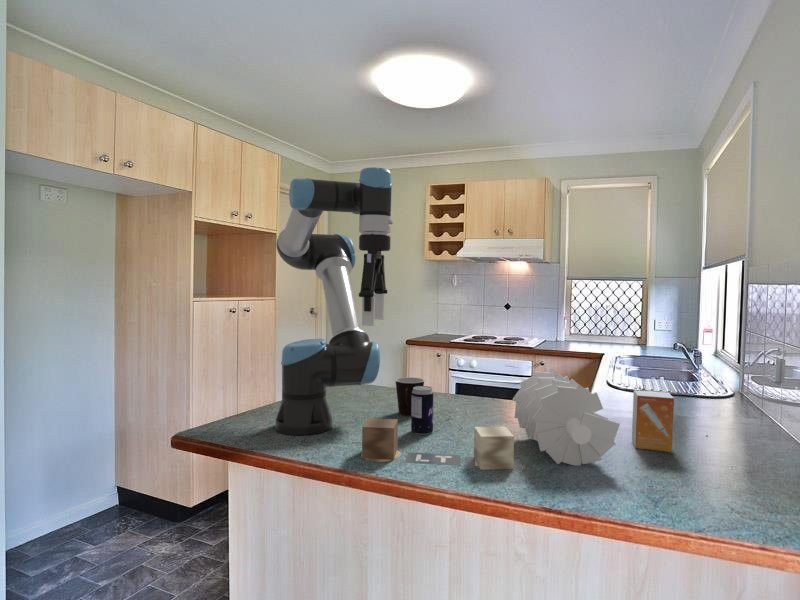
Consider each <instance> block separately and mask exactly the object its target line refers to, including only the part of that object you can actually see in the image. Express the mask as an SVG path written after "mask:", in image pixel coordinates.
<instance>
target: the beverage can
mask: <svg viewBox="0 0 800 600" xmlns="http://www.w3.org/2000/svg"><path fill="white" fill-rule="evenodd" d="M410 417H411V419H410V422H411V423H410V425H411V426H410V431H411V432H412V433H413V434H415V435H420V436H425V435H426V436H427V435H430V434H432V432H433V431H434V391H433V388H432V387H431V386H427V385H424V386H416V387H413V391H412V401H411V416H410Z"/></svg>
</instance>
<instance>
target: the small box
mask: <svg viewBox="0 0 800 600" xmlns="http://www.w3.org/2000/svg"><path fill="white" fill-rule="evenodd" d="M632 394H633V396H632V397H633V398H632V421H631V422H632V425H631V428H632V431H631V442H632V443H633V446H634V448H635V449H640V450H642V449H643V450H648V451H649V450H650V451H651V450H652V451H660V452H667V453H672V452H673V441H674V440H673V439H674V438H673V437H674V436H673V435H674V415H675V413H674V412H675V411H674V409H675V398H674V396H672V395H671V393H670V392H664V391H663V392H661V391H651V390H650V391H649V390H635V389H634V390H633V393H632Z"/></svg>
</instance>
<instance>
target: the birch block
mask: <svg viewBox="0 0 800 600" xmlns="http://www.w3.org/2000/svg"><path fill="white" fill-rule="evenodd" d="M473 429H474V431H473V432H474V433H473V444H474V445H473V457H474V459H475V461H476V462H477V464H478V466H479V468H478V469H480V471H481V470H483V471H484V470H503V469H514V459H515V457H514V455H515V453H514V452H515V435H513V434H512V432H511V431H510V430H509V429H508V427H506V426H474V427H473Z"/></svg>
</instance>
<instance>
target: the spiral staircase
mask: <svg viewBox="0 0 800 600" xmlns="http://www.w3.org/2000/svg"><path fill="white" fill-rule="evenodd" d="M519 385H520V388H519V389H518V391H517V392H516V393H515V395H514V396H513V397H512V401H514V402H515V408H514V409H515V410H514V416H513V417H514V419H517V421H518V427H519V428H521V429H524V431H525V433H526V437H527V438H528V439H529V438H530V439H531V440H534V441H537V443H538V448H539V451H540V452H544V451H545V453H546V454H547V455H549V456H550V458H552V460H553V461H554V462H555V463H556V464H557V465H559V464H561V463H564V464H568V465H569V466H570V465H571V466H581V465H585V464H590V463H595V462H599V461H602V457H603V456H604V455H606V453H607V452H608V451H610V450H611V449H612V448H613V447H615V445H616V442H615V438H616V436H617V432H618V431H619V427H620V423H619V422H616V421H613V420H611V419H609V418H608V417H606V416H605V415H602V414H598V413H597V412H599V411H602V410H603V409H604V407H603V405H602V402H601V400H600V397H599V395H598V392H596V391H595V392H590V388H589V387H584V386H582V385H581V384H579V383H578V382H576V380H575V379H574V378H571V379H570V378H569V376H568V375H565V376H562V375H561V374H559V373H558V372H556V371H555V370H553V369H550V371H549V372H548V371H546V372H545V371H544V372H543V371H533V375H532V376H530V377H528V378H526V379H523V380H521V381H519Z"/></svg>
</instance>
